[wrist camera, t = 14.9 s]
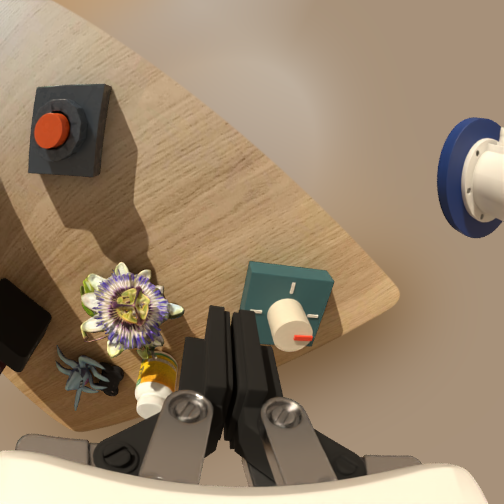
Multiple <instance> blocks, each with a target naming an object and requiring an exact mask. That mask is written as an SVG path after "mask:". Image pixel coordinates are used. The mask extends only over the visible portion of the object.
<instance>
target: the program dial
mask: <svg viewBox="0 0 504 504" xmlns="http://www.w3.org/2000/svg"><path fill="white" fill-rule="evenodd" d="M267 319H268V323H269V326H270V330H271V334H272V338H273V341H274V344H275V346H276V347H277V348H278V349H280V350H282V351H286V352H293V351H297V350H300V349H302V348H304V347H305V346H306V345H307V344H308V343H309V342H310V341H312V339H313V330H312V327H311V325H310V323H309V321H308V319H307V316H306V314H305V312H304V310H303V308H302V306H301V304H300V303H299V302H298V301H296V300H294V299H281V300H279V301H277V302H275V303H274V304H273V305H272V306H271V307H270V308H269V310H268V313H267Z"/></svg>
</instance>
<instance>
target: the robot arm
mask: <svg viewBox="0 0 504 504" xmlns="http://www.w3.org/2000/svg"><path fill="white" fill-rule="evenodd" d="M461 192H462V198H463V202H464V205H465V208H466V210H467V212H468V213H469V214H470V216H472V217H473V218H474V219H476V220H478V221H480V222H489V221H492V220H494V219H495V218H497V219H499V220H501V221H503V222H504V128H503V127H501V130H500V139H499V142H498V141H497V140H494V139H489V138H484V139H481V140H479V141H477V142H476V143H475V144H474V145H473V146H472V148H471V149H470V151H469V153H468V154H467V157H466V159H465V162H464V166H463V170H462V177H461ZM223 427H224V440H226V441H230V449H235V452H236V453H237V454H239V455H240V456H241V457H242V464H243V468H244V472H245V475H246V478H247V482H248V485H249V487H229V486H209V485H199V481H200V476H201V471H202V466H203V461H204V458H205V457H207V456H208V455H209V454H211V453H212V452H214V451H215V450H216V447H217V443H218V440H220V438H221V434H222V431H223ZM0 504H488V502H487V500H486V498H485V496H484V494H483V492H482V490H481V489H480V487H479V485H478V484H477V482H476V481H475V479H474V478H473V476H472V475H471V474H470V473H469V472H468V471H467V470H465V469H464V468H462V467H460V466H456V465H452V464H444V463H427V464H422V463H421V462H420V461H419V460H418V459H416V458H415V457H413V456H379V455H378V456H377V455H364V456H363V457H359V456H358V455H357V454H355V453H354V452H352V451H350V450H349V449H347V448H345V447H343V446H342V445H340V444H338V443H337V442H335V441H333V440H331V439H330V438H328V437H326V436H325V435H323V434H322V433H320V432H318V431H317V430H315V429H314V428H313V426H312V424H311V422H310V420H309V418H308V415H307V413H306V411H305V410H304V408H303V407H302V406H301V405H300V404H299V403H297V402H296V401H294V400H292V399H289V398H285V397H283V394H282V389H281V385H280V380H279V376H278V371H277V366H276V362H275V357H274V353H273V349H272V347H271V346H262V345H260V340H259V334H258V328H257V323H256V317H255V312H254V311H250V310H242V309H240V310H239V312H238V313H236V312H234V313H233V317H232V321H231V326H230V312H228V311H224V307H219V306H212V305H210V307H209V313H208V319H207V326H206V333H205V339H199V338H192V337H185V344H184V351H183V359H182V366H181V374H180V382H179V390H178V391H175V392H172V393H171V394H170V395H168V396H167V398H166V399H165V401H164V403H163V406H162V409H161V411H160V412H159V413H157V414H155V415H153V416H151V417H149V418H147V419H145V420H143V421H141V422H139V423H138V424H136V425H133V426H132V427H129V428H128V429H125V430H123V431H121V432H119V433H117V434H115V435H113V436H111V437H109V438H107V439H105V440H103V441H101V442H100V443H89V441H88V440H80V439H70V438H61V437H53V436H46V435H39V434H27V435H24V436H22V437H21V438H20V439H19V440H18V442H17V444H16V449H15V450H6V451H0Z"/></svg>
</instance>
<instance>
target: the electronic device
mask: <svg viewBox="0 0 504 504" xmlns="http://www.w3.org/2000/svg"><path fill="white" fill-rule="evenodd" d="M50 320H51V315H50V314H49V313H48V312H47V311H46V310H44V309H43V308H42V307H41V306H39V305H38V304H37V303H35V302H34V301H33V300H32V299H30V298H29V297H28V296H27V295H26V294H24V293H23V292H22V291H21V290H20V289H18V288H17V287H16V286H15V285H14V284H12V283H11V282H10V281H9V280H8V279H6V278H3V279H1V280H0V360H1V361H2V362H3V363H5V364H6V365H7V366H9V367H10V368H11V369H12V370H14V371H16V372H21V371H22V370H23V369H24V367H25V365H26V364H27V362H28V360H29V359H30V357H31V355H32V354H33V352H34V350H35V349H36V347H37V346H38V344H39V342H40V341H41V339H42V338H43V336H44V334H45V332H46V330H47V327H48V325H49V323H50Z"/></svg>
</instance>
